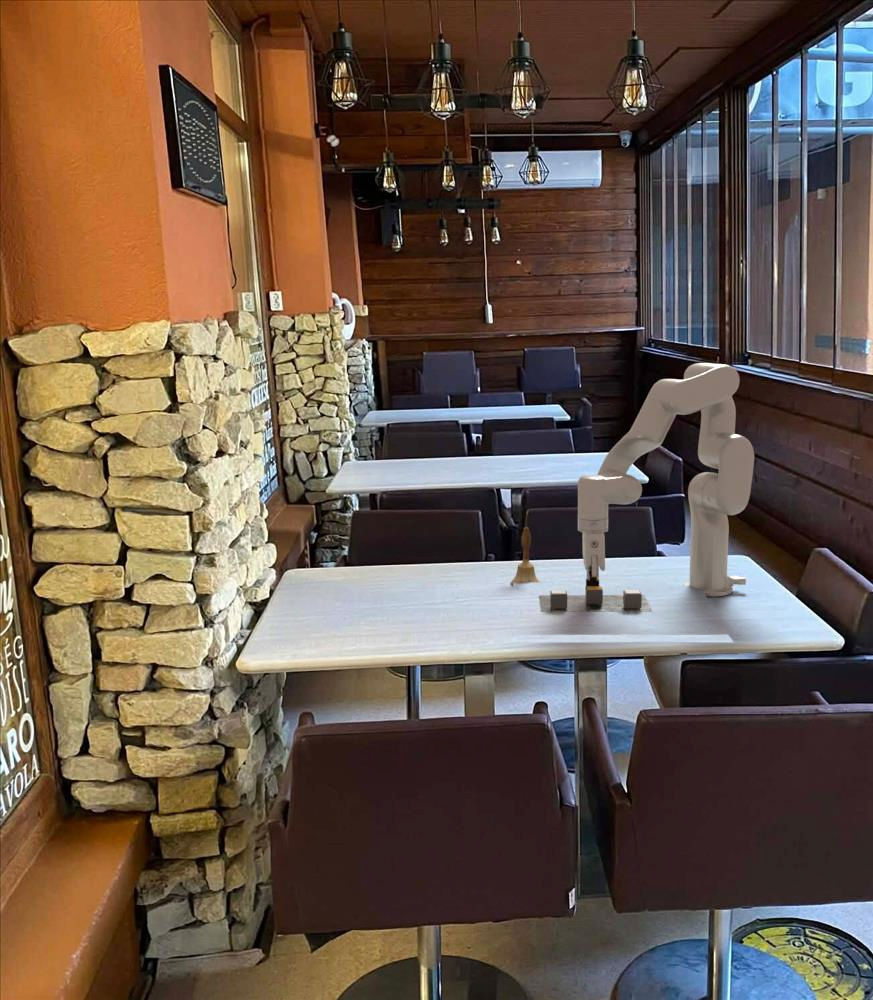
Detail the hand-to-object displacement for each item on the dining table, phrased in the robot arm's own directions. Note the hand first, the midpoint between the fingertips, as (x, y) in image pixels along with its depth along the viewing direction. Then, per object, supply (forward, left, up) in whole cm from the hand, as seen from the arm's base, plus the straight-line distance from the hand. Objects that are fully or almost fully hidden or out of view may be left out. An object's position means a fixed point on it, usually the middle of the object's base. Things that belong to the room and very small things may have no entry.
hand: (592, 594), depth 240 cm
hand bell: (+16, -21, -3) cm, 26 cm away
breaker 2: (-9, +7, -1) cm, 12 cm away
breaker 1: (+9, +7, -1) cm, 12 cm away
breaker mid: (0, +4, -1) cm, 4 cm away
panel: (0, +3, -3) cm, 4 cm away
